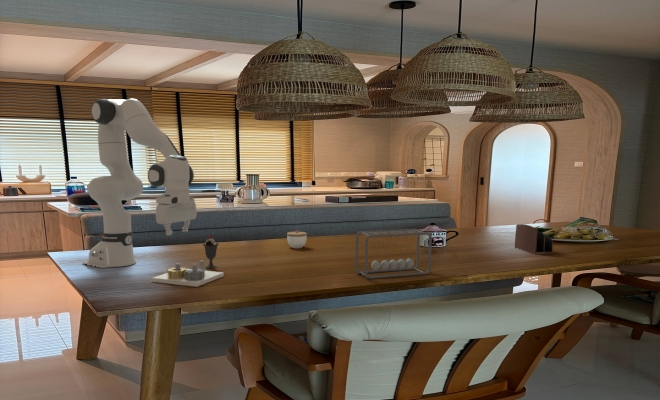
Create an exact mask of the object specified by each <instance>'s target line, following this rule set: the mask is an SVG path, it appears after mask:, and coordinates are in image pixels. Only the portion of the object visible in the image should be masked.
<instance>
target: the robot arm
mask: <svg viewBox="0 0 660 400" xmlns="http://www.w3.org/2000/svg"><path fill="white" fill-rule="evenodd" d="M90 111H91V117H92V119H93V120H94V121H95V123H96V124H98V128H97V143H98V154H99V161H100V163H101V165H102V166H104V167H105V168H106V169H107V170H108V171H109V174H110V175H102V176H98V177H95V178H93V179H91V180H90V181H89V183H88V186H87V191H88V195H89V197H90V198H91V199H92V200H94V201H95V202H96V203H97V205H98V206H99V208H100V211H101V213H102V220H103V233H99V236H98V237H99V238H100V241H99V242H98V243H97V244H95V246H93V247H91V249H90V250H89V251H88V259H87V260H84V261H83V262H82V265H85V264H87V265H86V266H90V265H92V266H91V267H95V266H96V267H95V268H101V269H105V268H116V267H117V268H119V267H127V266H131V265H136V263H137V262H136V259H135V254H134V248H133V247H134V246H133V238H134V237H133V231H132V215H131V213H130V212H129V211H128V210H126V209H125V208H124V206H123V202H122V201H128V200H133V199H136V198H139V197H140V196H141V195H142V193H143V191H144V184H143V181H142V180H141V179H140V178H139V177H138V176H137V175H136V174H135V173H134V171H133V169H132V167H131V164H130V162H129V157H128V156H129V155H128V149H127V140H126V134H125V133H126V132H127V135H128V137H129V138H130V139H131V140H132V141H133V142H134V143H136V144H138V145H141V146H145V147H147V148H150V149H154V150H156V151H157V152H159V153H160V154H162V155H163V157H164V159H163V160H161V162H158V163H157V162H156V163H154V164H152V165H150V167H149V168H148V171H147V180H148V182H149V183H150V185H151V186H152V187H153V188H158V189H161V188H162V189H165V190H164V191H165V192H163V193H162V194H161V195H159V196H158V197H156V199H155V203H156V204H157V205H156V207H155V221H156V223H157V224H158V225H163V227H164V230H165V234H166V236H172V235H173V230H172V229H171V226H172V224H175V223H182V222H183V223H184V224H183V227H182V226H181V232H183V233H187V232H188V231H189V227H190V224H191V221H193V220H196V219H197V217H198V216H197V215H198V214H197V213H198V212H197V205H196V202H195V198H194V197H193V196H191V195H190V186H191V184H192V183H193V181H194V178H195V173H194V170H193V168H192V167H191V165H190V163H189V160H188V158H187V157H185V156H182V155H181V154H180V152H179V150H178V149H177V148H176V146H175V144H174V143H173V142H172V140H171V138H170V137H169V136H168V135H167V134H166V133H165V132H163V131H162V130H161V129H160V128H159V127H158V126H157V124H156V123H155V121H154V120H153V118H152V115H150V113H149V111H148V109H147V108H146V107H145V105H144V104H143V103H142V102H141V101H140V100H138V99H136V98H128V99H122V98H121V99H120V98H119V99H112V98H110V99H106V98H99V99H96V100H94V102H93V103H92V105H91V110H90Z"/></svg>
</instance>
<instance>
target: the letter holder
mask: <svg viewBox="0 0 660 400" xmlns="http://www.w3.org/2000/svg"><path fill="white" fill-rule="evenodd" d="M553 246H554V242H553V239H552V238H551V237H549V236H547V235H545V234H544V233H543V232H540V231H538V229H537V227H534V226H531V225H529V224H525V223H524V224H523V223H522V224H520V223H519V224H518V223H517V224H516V225H515V235H514V248H515V249H517V248H518V249H517V250H520V249H521V251H523V252H527V253H530V254H532V255H552V254H553V253H554V251H553V249H554V247H553Z"/></svg>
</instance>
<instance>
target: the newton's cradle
mask: <svg viewBox="0 0 660 400" xmlns="http://www.w3.org/2000/svg"><path fill="white" fill-rule="evenodd" d="M360 235H366V236H365V239H364V270H359V236H360ZM425 235H426V236H428V252H427V253H428V258H427V259H428V262H427V270H426V271H423V270H420V269H418V268H419V267H420V242H421V239H420V238H421V236H425ZM409 236H412V238H411V241H413V239H414V236H416V265H415V260H414V259H412V258H411V256H412V252H410V251H409V250H410V249H412V248H413V247H412V246H413V244H411V247H409V244H407V246H408V247H407V248H408V250H407V251H408V252H409V257H408V258H407V259H406V260H405V259H404V258H400V259H398V260H396V259H395V258H392V259H391V260H389V261H388V260H387V256H386V254H383V260H381V261H380V262H379V261H378V260H377V258H378V256H374V260H373V261H372V262H371V264H370V266H371V269H370V270H368V266H369V265H368V263H369V262H368V259H369V256H368V255H369V239H370V238H374V242H376V240H375V239H376V238H378V239H380V238H385V237H387V240H386V242H387V243H386V244H388V242H389V240H388V239H389V237H391V238H390V239H391V242H393V238H392V237H395V238H397V237H399V239H401V237H404V238H403V240H405V237H407V238H409ZM432 241H433V239H432V234H431V233H430V232H429V231H422V230H419V229H417V228H407V229H406V228H405V229H403V228H402V229H401V228H400V229H386V230H385V229H381V230H378V229H377V230H362V231H358V232H357V233H356V235H355V251H354V253H355V258H354V259H355V260H354V262H355V263H354V265H355V268H354V269H355V272H356V273H357V274H359V275H363V276H365V278H366V279H368V280H371V279H372V280H375V279H383V278H384V279H386V278H397V277H410V276H411V277H413V276H422V275H428V274H429V273H430V272H431V270H432V245H433V244H432V243H433V242H432ZM394 243H395V245H394V247H396V245H397V241H395V242H394ZM379 244H380V241H378V242H377V246H379ZM382 244H383V245H382V246H383V247H385V242H384V239H382ZM404 247H405V244H403V246H402V249H404ZM399 248H400V249H399V250H400V253H401V257H403V255H404V252H402V251H401V246H399ZM409 248H410V249H409ZM385 249H386V251H385V253H387V250H388V247H386V248H385ZM393 251H394V254H393ZM378 252H379V248H377V251H376V253H378ZM395 252H396V250H393V249H391V253H392V257H394V256H395ZM414 265H415V266H414ZM412 270H413V271H414V270H416V271H417V272H407V273H404V272H403V271H412ZM418 271H419V272H418ZM389 272H390V273H391V272H403V273H393V274H380V275H378V274H377V275H369V274H374V273H389Z"/></svg>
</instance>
